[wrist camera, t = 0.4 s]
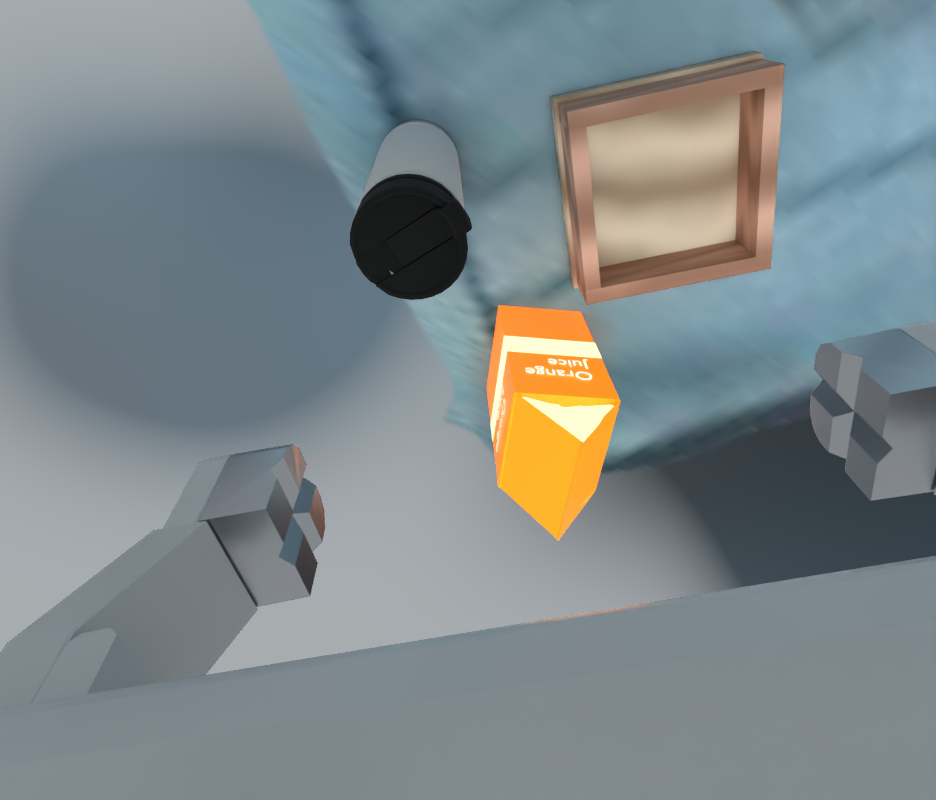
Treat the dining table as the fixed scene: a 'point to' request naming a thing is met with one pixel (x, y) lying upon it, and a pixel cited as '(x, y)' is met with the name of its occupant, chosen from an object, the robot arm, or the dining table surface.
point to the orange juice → (548, 412)
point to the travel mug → (412, 214)
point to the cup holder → (670, 176)
